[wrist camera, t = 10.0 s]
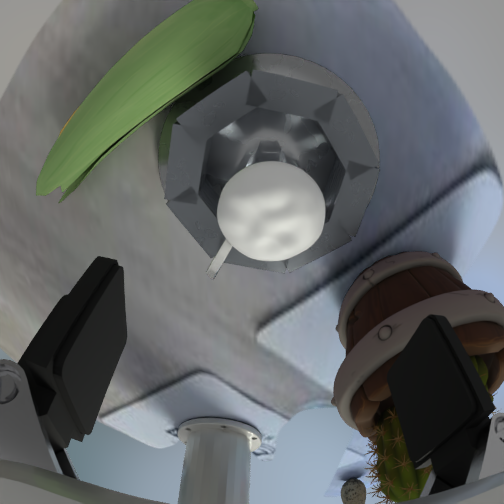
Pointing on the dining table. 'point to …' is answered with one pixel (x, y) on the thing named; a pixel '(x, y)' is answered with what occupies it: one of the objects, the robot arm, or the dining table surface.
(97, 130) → the edible corn
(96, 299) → the robot arm
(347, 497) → the decorative egg
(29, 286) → the dining table surface
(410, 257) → the flowerpot
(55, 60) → the dining table surface
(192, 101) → the collar
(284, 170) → the milkshake
